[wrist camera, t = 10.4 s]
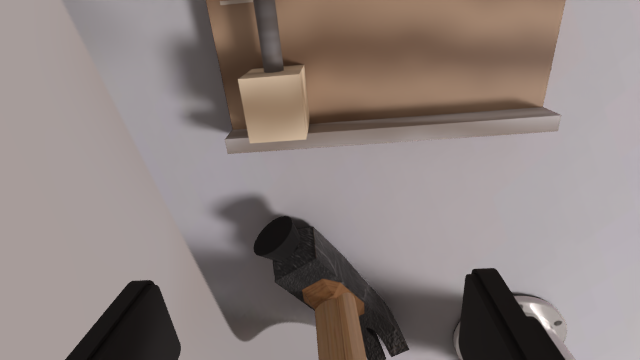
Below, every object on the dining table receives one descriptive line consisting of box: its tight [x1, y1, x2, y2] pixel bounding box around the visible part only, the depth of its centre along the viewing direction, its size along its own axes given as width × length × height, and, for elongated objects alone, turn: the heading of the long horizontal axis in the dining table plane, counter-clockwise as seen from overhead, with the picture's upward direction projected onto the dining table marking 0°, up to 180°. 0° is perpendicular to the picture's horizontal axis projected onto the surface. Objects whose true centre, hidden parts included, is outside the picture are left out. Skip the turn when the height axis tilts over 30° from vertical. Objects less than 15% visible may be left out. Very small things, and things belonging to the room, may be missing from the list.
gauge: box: [238, 0, 310, 143], centre depth 23 cm, size 9×4×4 cm, turn 5°
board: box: [206, 0, 566, 154], centre depth 25 cm, size 12×25×4 cm, turn 95°
